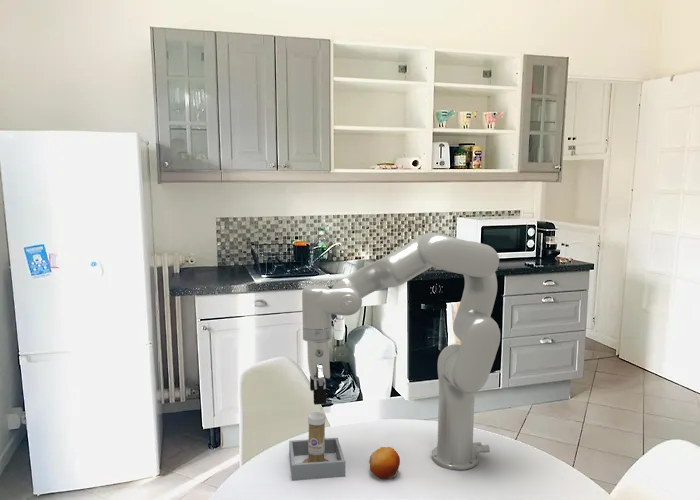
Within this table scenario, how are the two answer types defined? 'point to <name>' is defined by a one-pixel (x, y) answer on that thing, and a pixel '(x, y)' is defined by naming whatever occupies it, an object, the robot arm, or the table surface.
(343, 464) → the grey square tray
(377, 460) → the fruit
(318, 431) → the sprinkles bottle
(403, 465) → the table surface
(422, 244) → the robot arm
